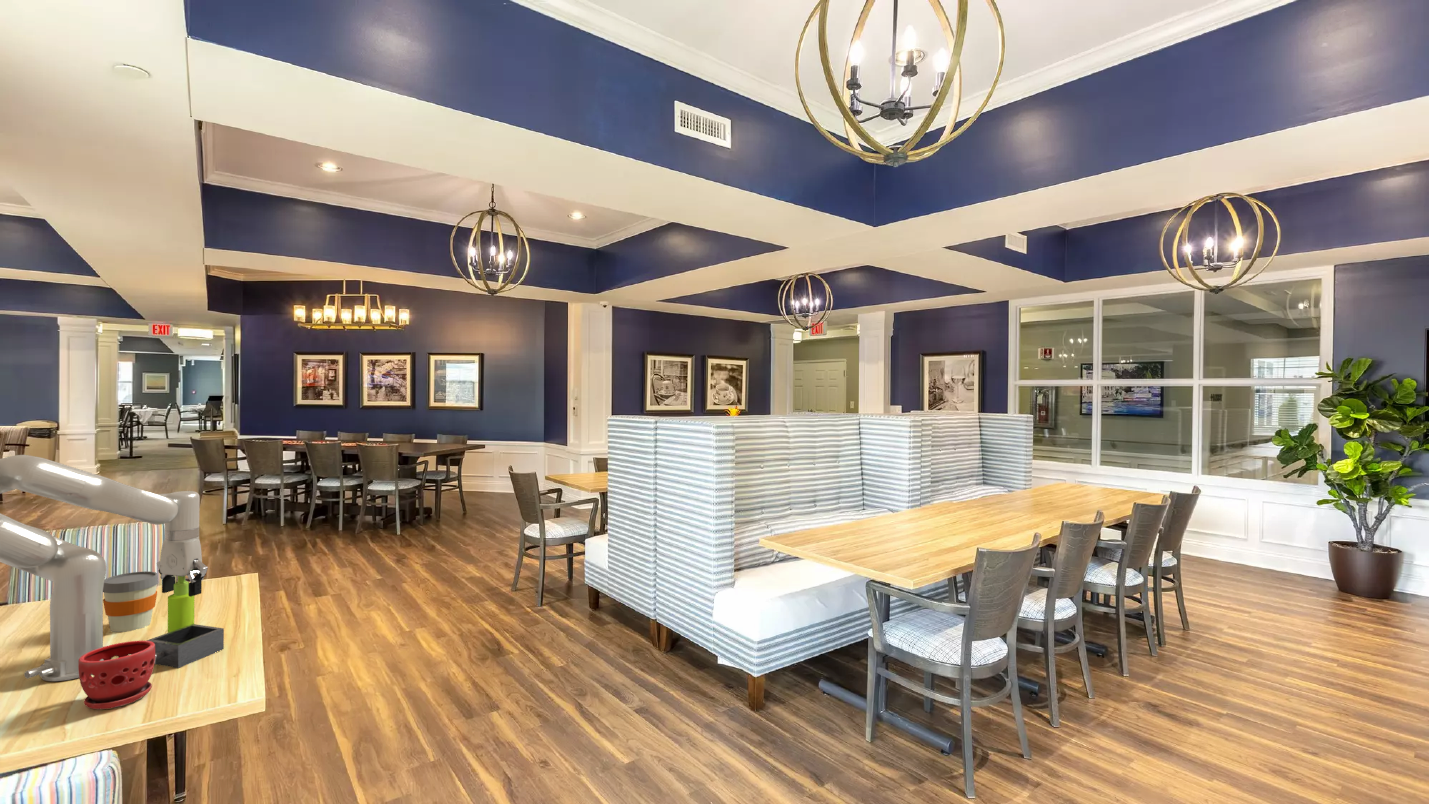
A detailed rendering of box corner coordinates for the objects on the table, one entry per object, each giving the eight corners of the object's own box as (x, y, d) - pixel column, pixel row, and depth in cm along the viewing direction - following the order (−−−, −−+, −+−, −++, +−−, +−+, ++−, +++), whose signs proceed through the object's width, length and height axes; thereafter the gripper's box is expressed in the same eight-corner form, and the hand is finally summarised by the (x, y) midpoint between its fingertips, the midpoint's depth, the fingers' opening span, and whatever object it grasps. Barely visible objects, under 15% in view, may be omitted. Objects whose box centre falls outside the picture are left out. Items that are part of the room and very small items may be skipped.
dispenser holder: (159, 676, 159) (159, 652, 159) (126, 670, 162) (126, 647, 161) (223, 649, 175) (223, 628, 175) (192, 644, 178) (192, 624, 178)
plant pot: (169, 686, 154) (169, 638, 154) (120, 714, 141) (120, 662, 140) (115, 686, 154) (115, 638, 153) (61, 714, 140) (60, 661, 140)
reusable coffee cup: (169, 619, 195) (169, 572, 195) (127, 635, 182) (128, 585, 182) (133, 617, 196) (133, 570, 196) (89, 633, 184) (89, 582, 183)
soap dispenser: (185, 644, 178) (186, 575, 177) (161, 643, 178) (162, 574, 177) (203, 636, 184) (203, 568, 183) (179, 635, 184) (180, 568, 183)
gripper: (144, 535, 178) (144, 594, 179) (192, 540, 175) (191, 600, 175) (172, 529, 186) (172, 586, 186) (219, 534, 182) (218, 592, 182)
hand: (181, 593), depth 181 cm, fingers open, 9 cm apart
